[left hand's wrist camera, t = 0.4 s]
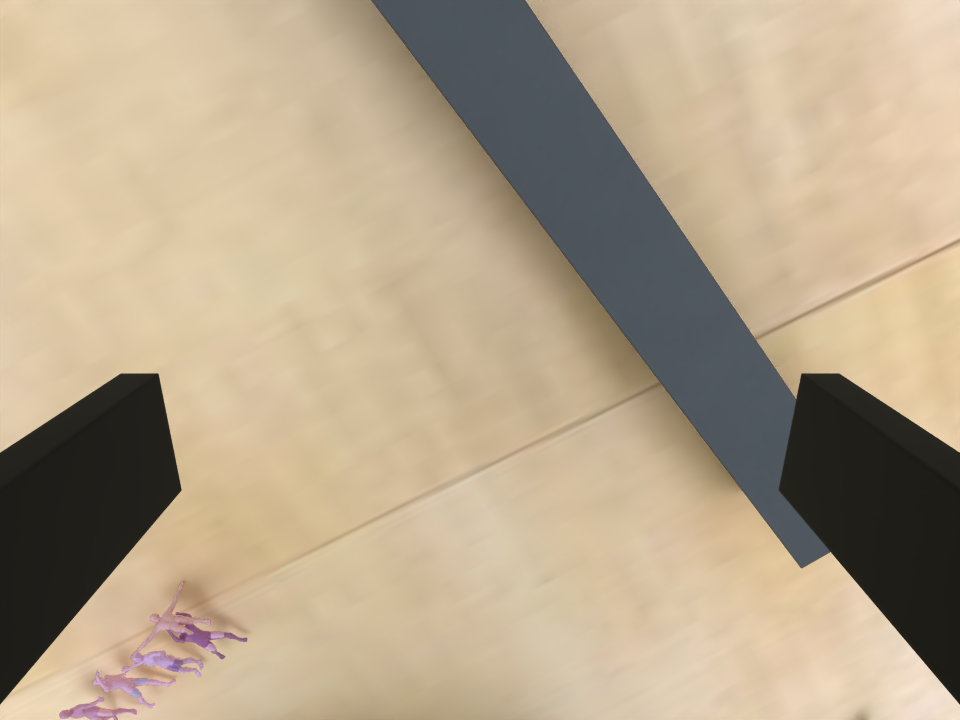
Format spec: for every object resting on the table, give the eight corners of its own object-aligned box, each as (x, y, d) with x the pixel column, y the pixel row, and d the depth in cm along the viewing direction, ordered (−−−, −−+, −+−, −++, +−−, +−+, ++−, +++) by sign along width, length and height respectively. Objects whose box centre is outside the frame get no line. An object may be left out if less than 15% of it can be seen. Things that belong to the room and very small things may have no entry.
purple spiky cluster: (106, 760, 48) (10, 740, 43) (124, 685, 52) (39, 660, 48) (279, 662, 44) (195, 629, 40) (283, 592, 49) (208, 554, 44)
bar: (806, 452, 42) (880, 523, 34) (743, 491, 43) (801, 568, 35) (-87, -833, 23) (-378, -1330, 15) (-160, -704, 24) (-465, -1106, 16)
